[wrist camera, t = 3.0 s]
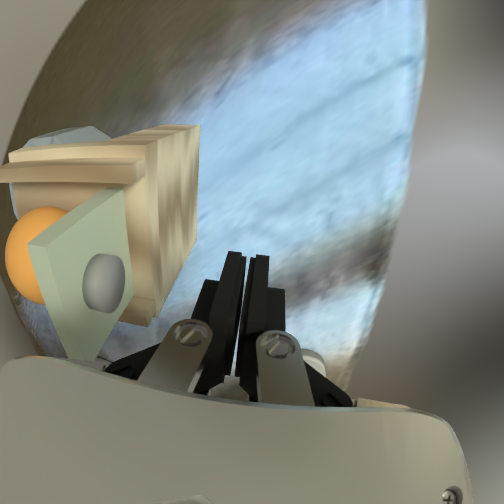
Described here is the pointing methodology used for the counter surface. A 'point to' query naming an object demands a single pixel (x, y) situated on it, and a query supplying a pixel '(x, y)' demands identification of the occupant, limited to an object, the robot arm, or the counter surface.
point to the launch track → (135, 198)
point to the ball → (18, 251)
